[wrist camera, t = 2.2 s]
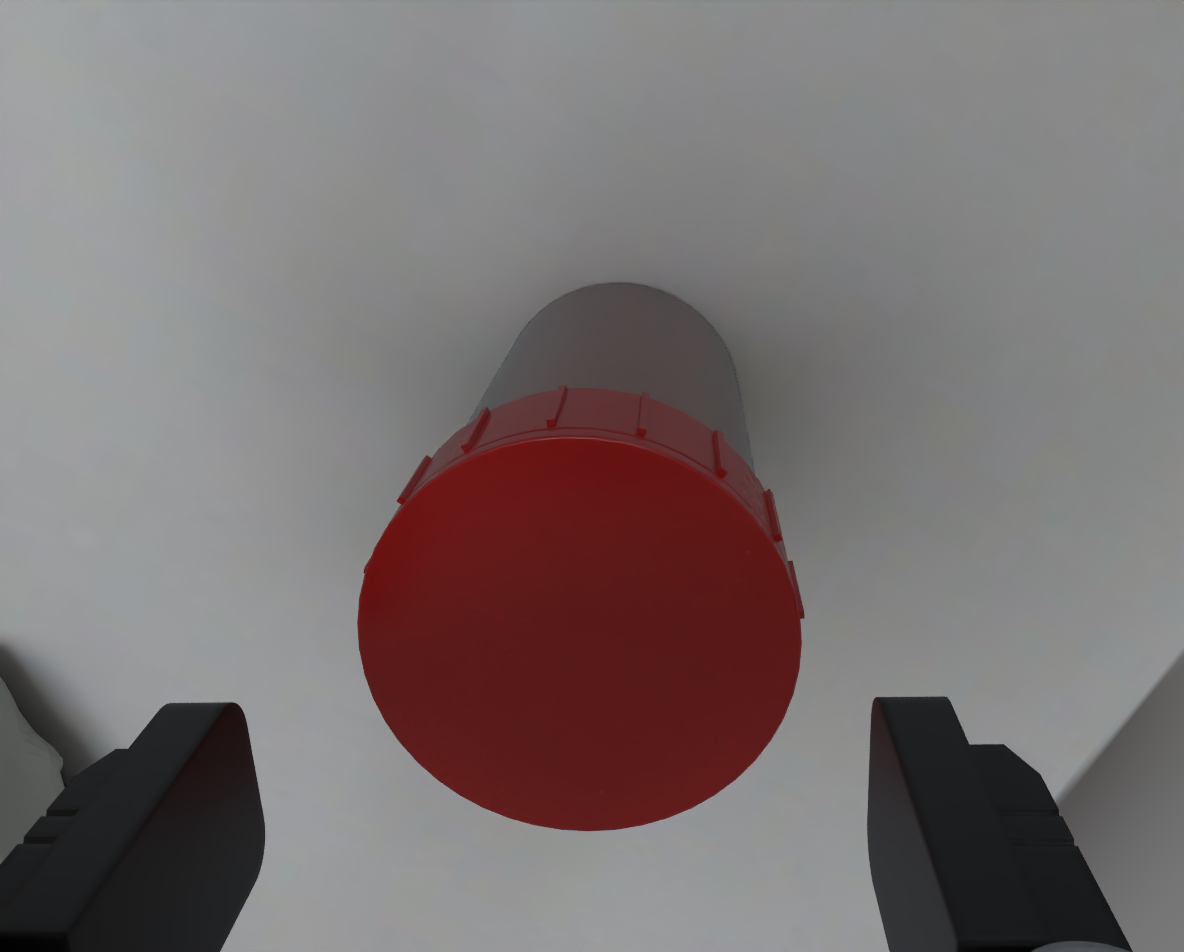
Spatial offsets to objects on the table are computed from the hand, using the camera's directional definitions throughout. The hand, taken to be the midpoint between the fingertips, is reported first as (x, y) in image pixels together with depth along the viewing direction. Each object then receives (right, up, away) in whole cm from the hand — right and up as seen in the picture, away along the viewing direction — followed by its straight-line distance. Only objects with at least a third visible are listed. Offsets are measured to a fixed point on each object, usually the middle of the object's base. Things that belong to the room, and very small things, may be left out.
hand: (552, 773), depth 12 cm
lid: (0, +1, +3) cm, 3 cm away
